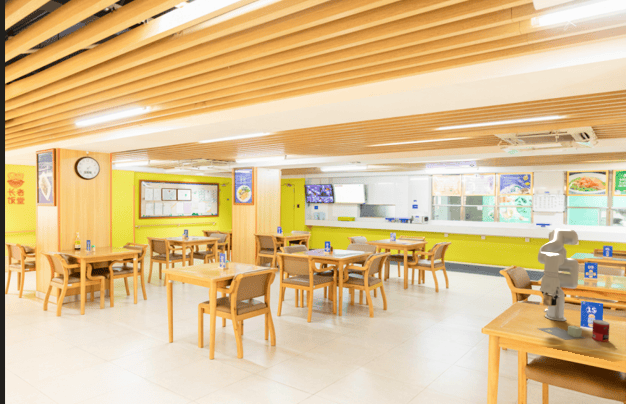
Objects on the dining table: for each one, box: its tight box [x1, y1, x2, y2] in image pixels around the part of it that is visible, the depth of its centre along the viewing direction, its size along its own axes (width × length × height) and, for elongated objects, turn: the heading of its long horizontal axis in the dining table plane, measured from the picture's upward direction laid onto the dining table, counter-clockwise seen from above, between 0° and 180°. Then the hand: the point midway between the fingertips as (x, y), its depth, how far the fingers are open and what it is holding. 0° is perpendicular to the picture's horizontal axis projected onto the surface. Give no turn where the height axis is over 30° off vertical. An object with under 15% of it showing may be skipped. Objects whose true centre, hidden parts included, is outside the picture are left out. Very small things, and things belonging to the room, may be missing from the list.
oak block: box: [542, 293, 557, 307], centre depth 249 cm, size 5×5×6 cm
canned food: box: [591, 319, 610, 343], centre depth 237 cm, size 8×8×11 cm
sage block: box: [567, 325, 583, 337], centre depth 243 cm, size 5×5×5 cm
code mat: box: [538, 326, 586, 341], centre depth 246 cm, size 20×16×1 cm
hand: (549, 303), depth 249 cm, fingers closed on oak block, 5 cm apart
